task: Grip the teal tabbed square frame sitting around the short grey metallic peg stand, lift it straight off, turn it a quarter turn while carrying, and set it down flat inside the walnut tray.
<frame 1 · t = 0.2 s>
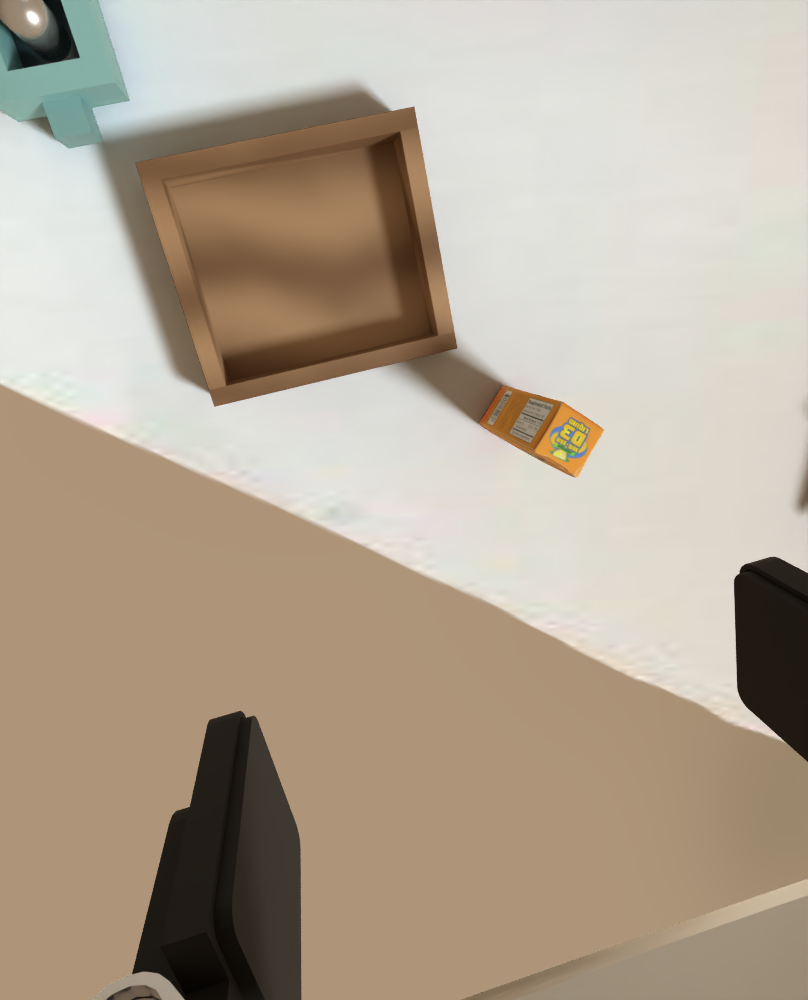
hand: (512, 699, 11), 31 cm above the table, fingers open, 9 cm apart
tray: (308, 266, 37), on the table
teal tabbed square frame: (49, 39, 30), point 1 cm above the table, touching grey metallic peg stand
supplement box: (507, 412, 42), on the table
grey metallic peg stand: (57, 47, 31), on the table
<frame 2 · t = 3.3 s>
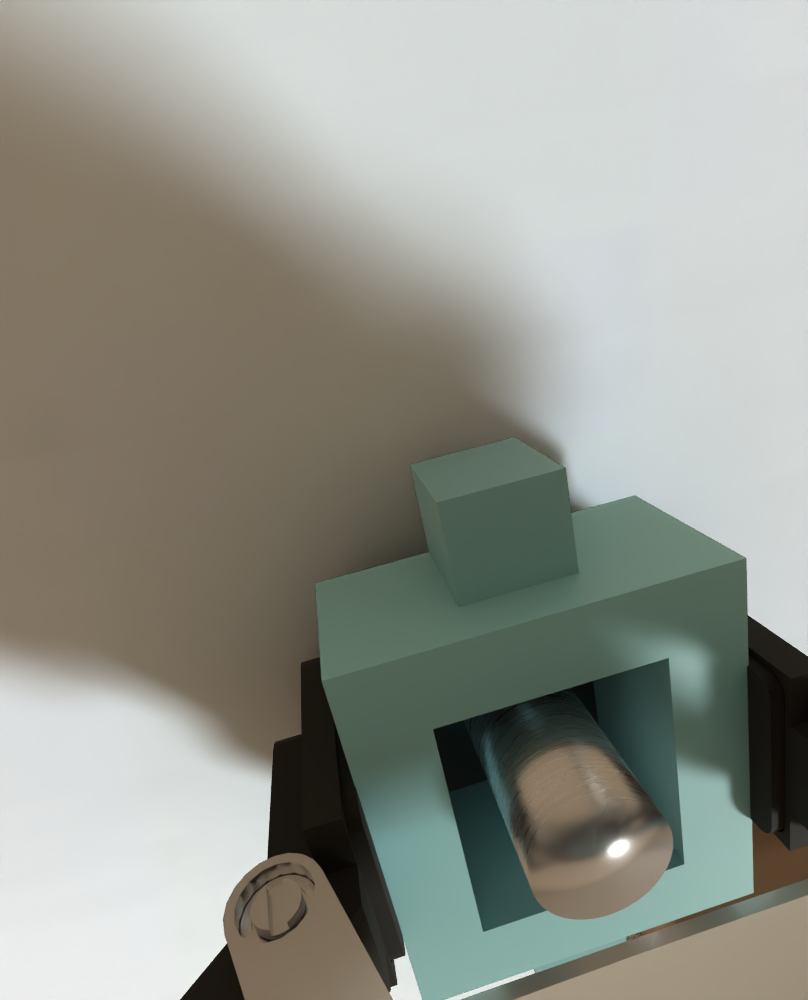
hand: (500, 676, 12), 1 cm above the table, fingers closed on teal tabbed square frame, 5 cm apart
teal tabbed square frame: (507, 688, 11), point 1 cm above the table, touching gripper, grey metallic peg stand
grey metallic peg stand: (491, 659, 12), on the table
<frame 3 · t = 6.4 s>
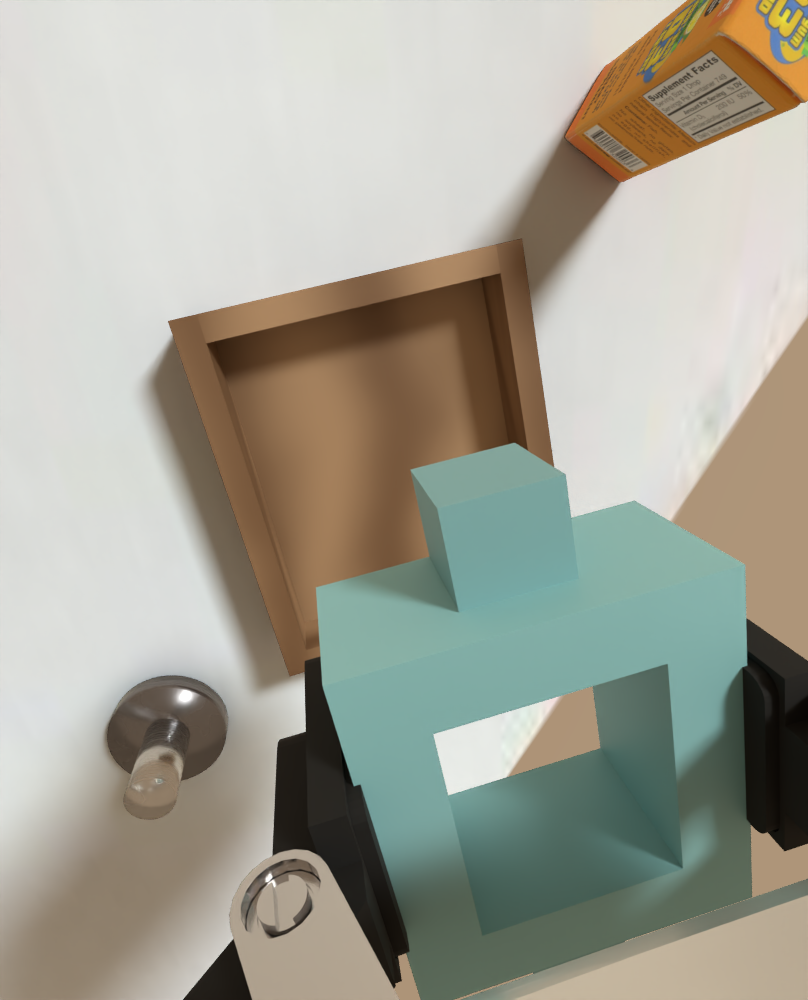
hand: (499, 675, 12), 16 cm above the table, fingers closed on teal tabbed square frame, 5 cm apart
tray: (385, 456, 27), on the table
teal tabbed square frame: (507, 692, 11), point 16 cm above the table, touching gripper
supplement box: (606, 125, 24), on the table
grey metallic peg stand: (171, 722, 29), on the table
when the fingers open (2 cm above the table, at t = 9.4 s): teal tabbed square frame drops 2 cm, resting on tray.
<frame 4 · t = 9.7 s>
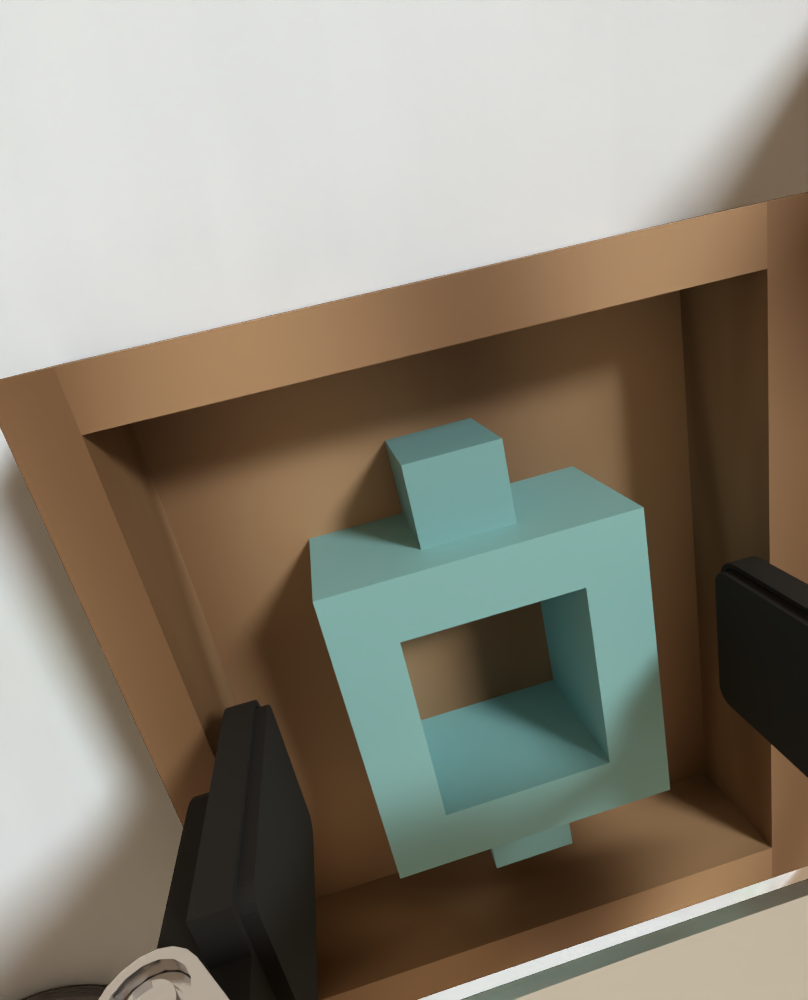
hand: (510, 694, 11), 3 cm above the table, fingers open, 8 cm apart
tray: (466, 613, 14), on the table
teal tabbed square frame: (471, 629, 14), point 1 cm above the table, touching tray
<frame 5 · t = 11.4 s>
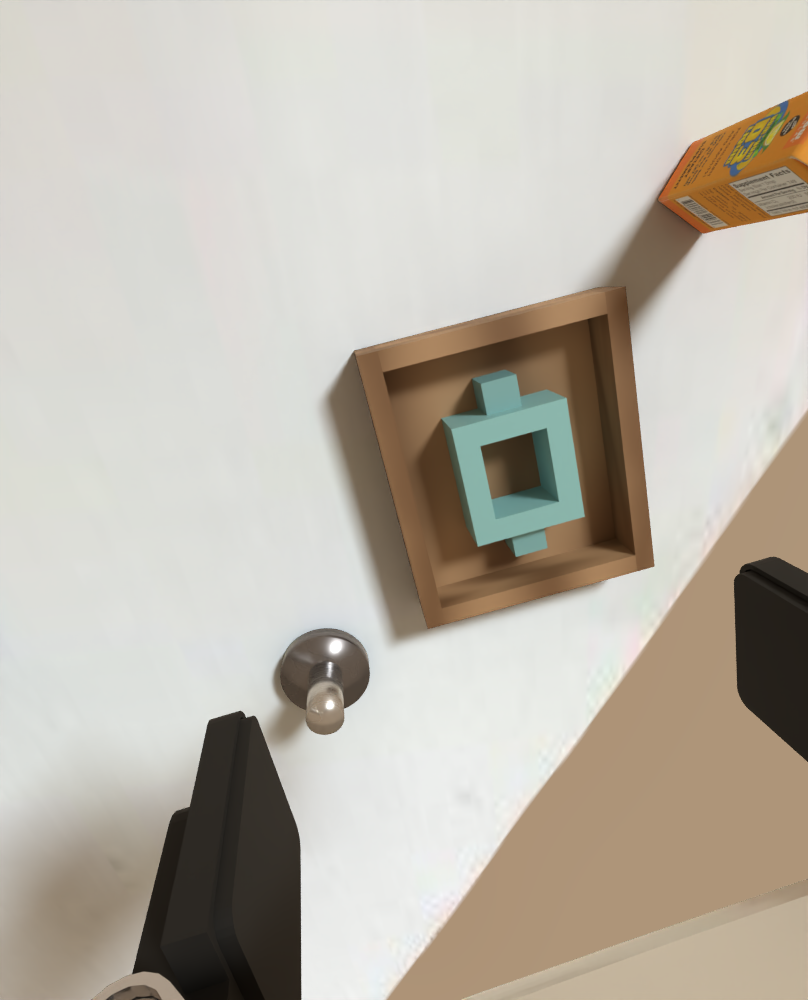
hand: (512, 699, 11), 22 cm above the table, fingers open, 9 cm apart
tray: (502, 456, 33), on the table
teal tabbed square frame: (505, 460, 33), point 1 cm above the table, touching tray
supplement box: (692, 188, 30), on the table
grey metallic peg stand: (325, 666, 36), on the table
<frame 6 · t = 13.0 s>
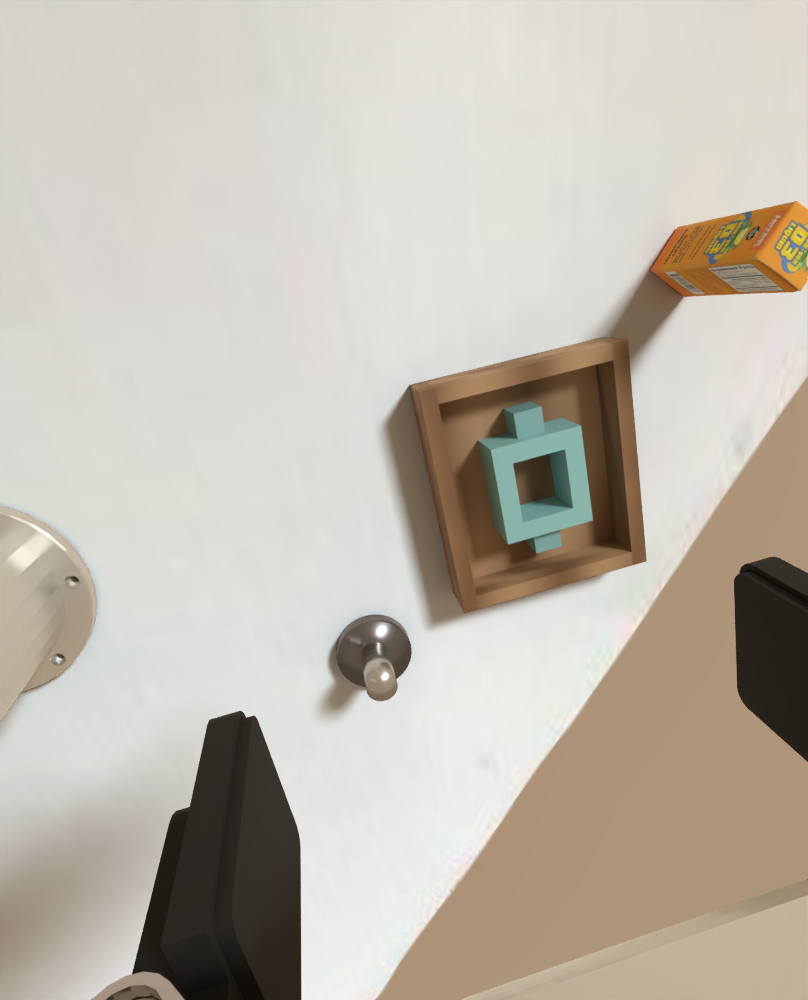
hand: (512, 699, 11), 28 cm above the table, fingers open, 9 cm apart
tray: (524, 471, 41), on the table
teal tabbed square frame: (527, 474, 40), point 1 cm above the table, touching tray
supplement box: (676, 261, 38), on the table
grey metallic peg stand: (373, 647, 43), on the table
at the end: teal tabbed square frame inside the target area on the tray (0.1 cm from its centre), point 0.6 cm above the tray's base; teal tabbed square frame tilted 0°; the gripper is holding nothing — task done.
